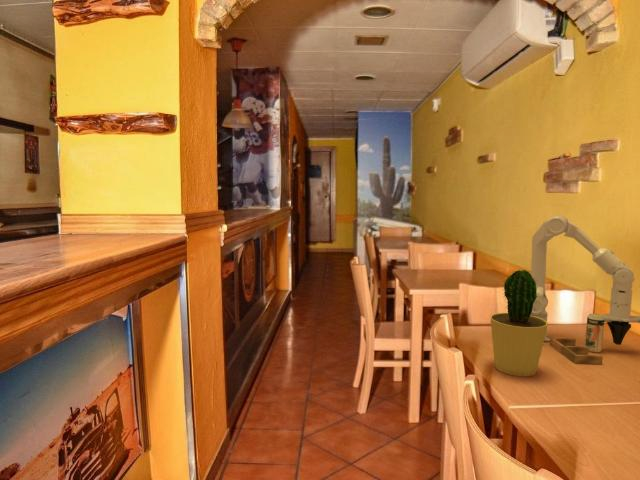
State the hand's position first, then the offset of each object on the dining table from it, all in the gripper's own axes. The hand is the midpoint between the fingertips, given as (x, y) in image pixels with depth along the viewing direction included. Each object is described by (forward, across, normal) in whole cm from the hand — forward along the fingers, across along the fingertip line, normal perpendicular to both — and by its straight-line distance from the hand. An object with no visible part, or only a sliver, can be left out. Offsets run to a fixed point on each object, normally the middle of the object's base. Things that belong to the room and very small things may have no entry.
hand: (617, 343), depth 152 cm
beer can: (+3, -8, 0) cm, 8 cm away
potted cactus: (+3, -40, -18) cm, 44 cm away
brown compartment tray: (+2, -16, -4) cm, 16 cm away
